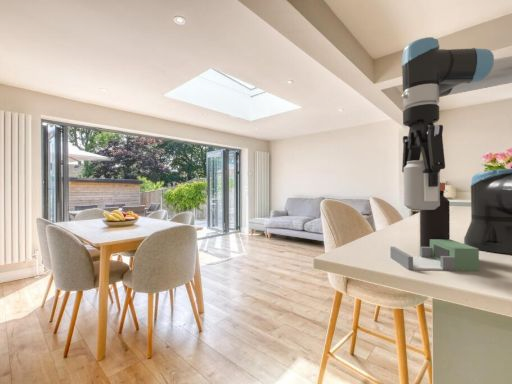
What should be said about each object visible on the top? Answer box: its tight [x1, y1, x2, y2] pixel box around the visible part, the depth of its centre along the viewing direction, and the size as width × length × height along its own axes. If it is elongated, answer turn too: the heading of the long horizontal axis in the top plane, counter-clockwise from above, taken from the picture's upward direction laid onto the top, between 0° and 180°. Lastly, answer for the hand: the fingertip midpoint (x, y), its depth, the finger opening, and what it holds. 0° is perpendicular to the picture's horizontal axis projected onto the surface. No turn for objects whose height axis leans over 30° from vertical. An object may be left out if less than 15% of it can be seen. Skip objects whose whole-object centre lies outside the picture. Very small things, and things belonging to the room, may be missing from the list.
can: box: [403, 159, 441, 211], centre depth 63 cm, size 8×8×12 cm
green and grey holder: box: [389, 239, 480, 272], centre depth 63 cm, size 15×10×5 cm, turn 84°
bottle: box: [419, 182, 451, 248], centre depth 72 cm, size 7×7×20 cm
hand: (421, 199), depth 63 cm, fingers closed on can, 7 cm apart
